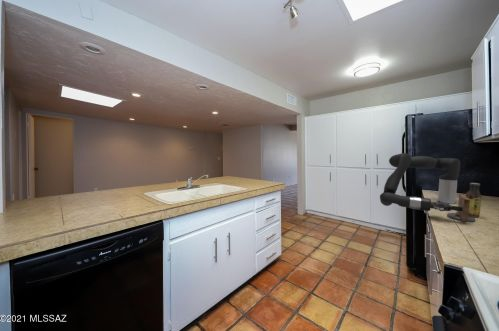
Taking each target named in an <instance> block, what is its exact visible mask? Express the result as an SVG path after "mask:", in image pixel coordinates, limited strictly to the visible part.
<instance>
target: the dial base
mask: <svg viewBox="0 0 499 331" xmlns="http://www.w3.org/2000/svg"><path fill="white" fill-rule="evenodd" d="M455 213H456V212H451V213H450V212H448V213H446V217H447V218H449V219H452V220H455V221H460V222H464V223H465V222H466V223H475V222H476V217H471V216H468V222H467V221H462V219H461V218H460V217H459V216H457V215H455Z"/></svg>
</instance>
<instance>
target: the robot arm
mask: <svg viewBox="0 0 499 331" xmlns="http://www.w3.org/2000/svg"><path fill="white" fill-rule="evenodd" d="M388 163H389V165H390V166H392V167H393V168H396V169H394V171H393V172H392V173H391V174H390V175H389V176H388V178H387V179H386V182H385V184H384V187H383V192H382V193H381V194H380V195H379V200H380V203H381V204H382V205H383V206H385V207H389V206H391V205H393V204H395V205H398V206H399V207H401V208H402V207H403V208H409V209H413V210H420V211H424V212H425V211H427V212H430V211H431V209H432V210H433V209H434V210H436V211H439V212H452V211H456V212H458V211H462V207H458V205H454V204H456V200H457V190H458V179H459V176H460V171H461V161H460V159H458V158H456V157H455V158H450V157H441V158H434V157H431V156H425V155H417V156H411V155H410V154H409V153H406V152H405V153H403V152H402V153H397V154H394V155H392V156H391V157H389V159H388ZM408 168H414V169H421V170H431V169H436V170H442V171H447V173H445V174H441V175H439V182H438V195H437V197H438V198H437V201H433V202H432V201H431V198H428V197H419V196H409V195H408V196H407V195H399V194H397V193H396V192H397V191H398V187H399V185H400V182H401V179H402V178H403V177H404V174H406V171H407V170H408ZM439 201H440V202H439ZM452 204H453V205H452Z"/></svg>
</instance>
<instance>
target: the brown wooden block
mask: <svg viewBox="0 0 499 331" xmlns="http://www.w3.org/2000/svg"><path fill="white" fill-rule="evenodd" d="M469 204H470V199H468V198H467V197H466V194H460V193H459V195H458V205H457V206H458V207H462V211H456V212H454V213H455V215H457V216H459V217H460V218H461V219H462V221H461V222H464V221H467V222H466V223H469V222H468V216H469Z"/></svg>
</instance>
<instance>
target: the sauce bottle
mask: <svg viewBox="0 0 499 331" xmlns="http://www.w3.org/2000/svg"><path fill="white" fill-rule="evenodd" d="M480 187H481V183H477V182H470V183H469V190H468V191H467V192H466V193H465V196H466V197H467V198H468V199H470V204H469V216H471V217H474V218H479V217H480V215H481V209H482V195H481V192H480Z"/></svg>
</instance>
